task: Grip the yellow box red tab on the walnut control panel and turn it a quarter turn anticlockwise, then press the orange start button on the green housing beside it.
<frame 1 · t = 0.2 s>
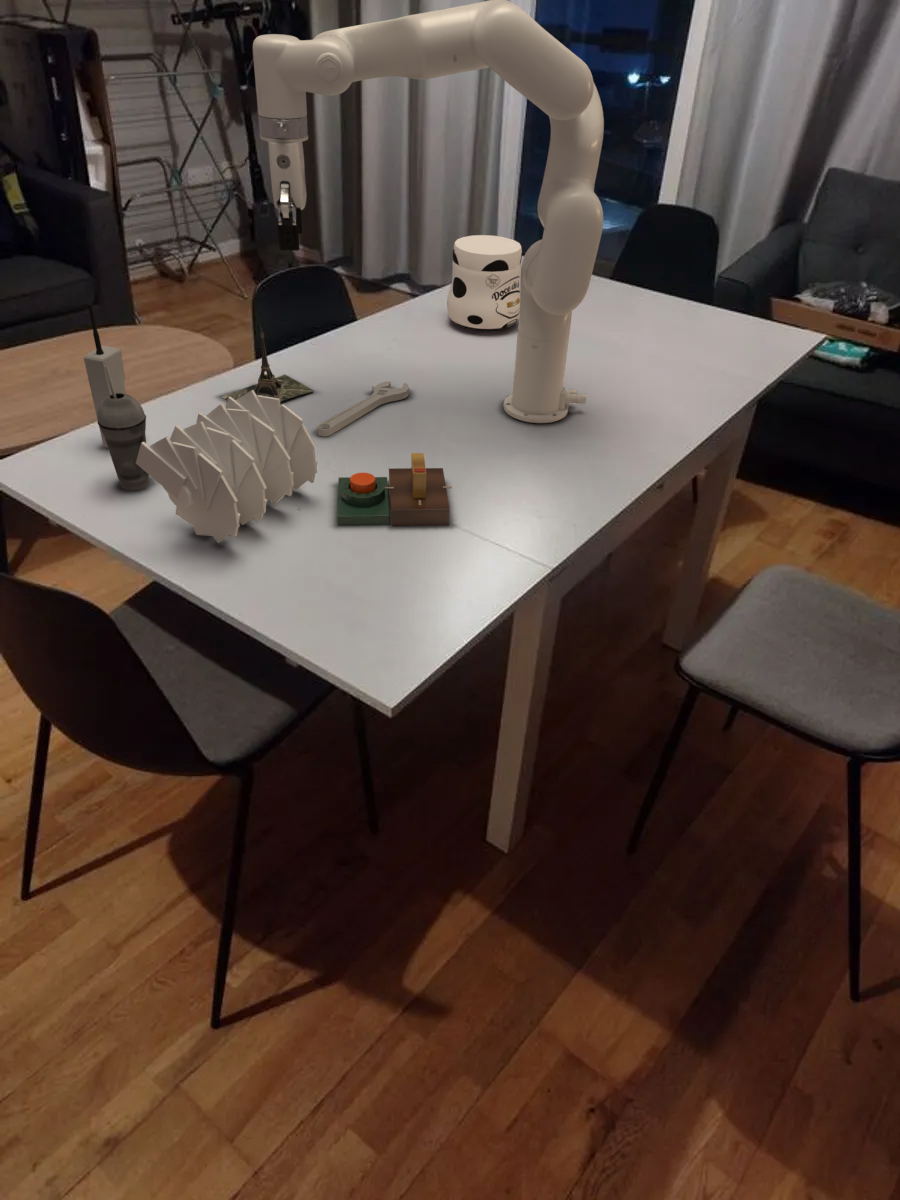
hand: (291, 241, 149), 31 cm above the table, tool pointing down, fingers open, 9 cm apart
start button: (362, 483, 140), point 4 cm above the table, slide at 0.1 cm
control panel: (417, 504, 143), on the table
spiral staircase: (243, 512, 139), on the table
milk container: (482, 324, 208), on the table
yellow box red tab: (418, 474, 139), point 5 cm above the table, hinge at 0.0°
vintage mobile phone: (121, 444, 155), on the table
beverage cup: (135, 484, 145), on the table
eiffel tower figurine: (268, 395, 173), on the table
adjustable wrench: (360, 411, 169), on the table
button housing: (363, 504, 142), on the table
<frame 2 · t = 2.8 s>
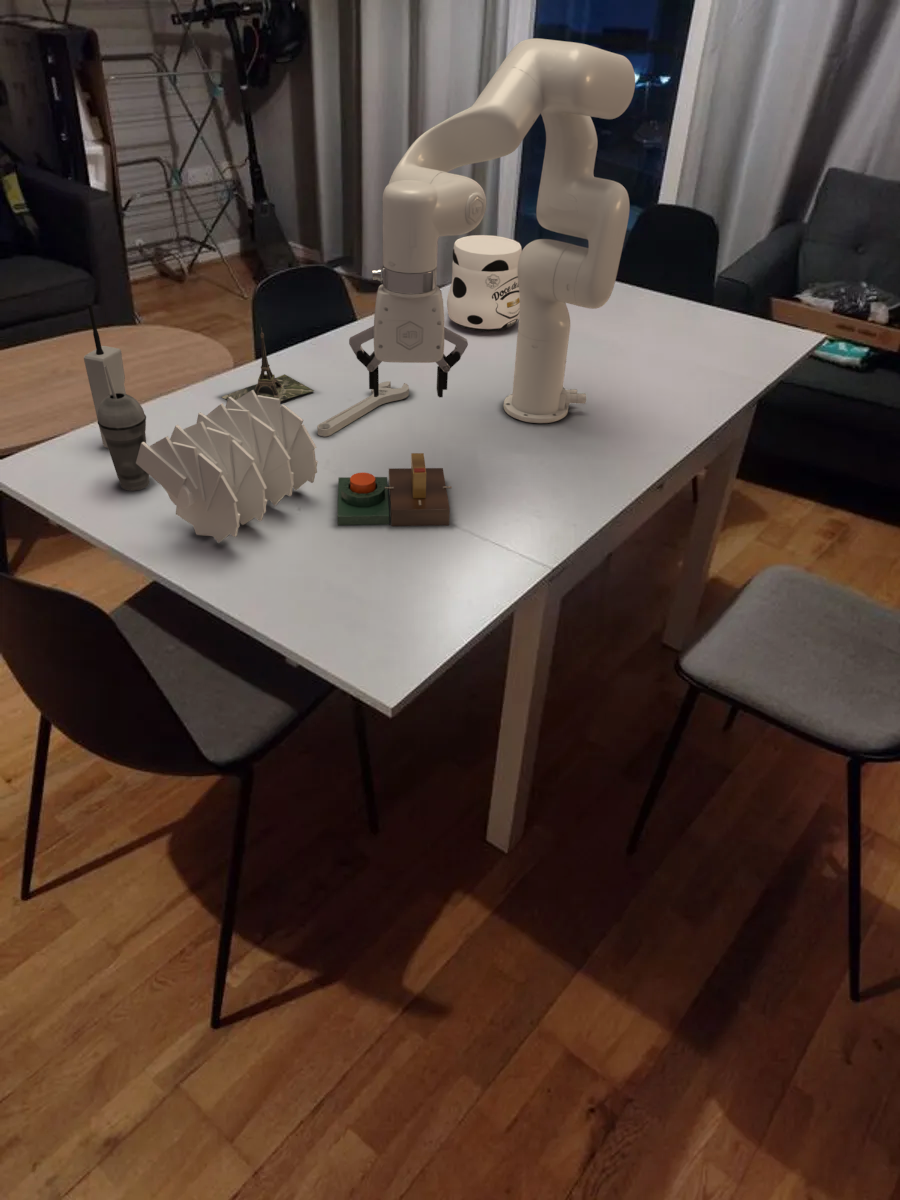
hand: (407, 393, 133), 18 cm above the table, tool pointing down, fingers open, 9 cm apart
nothing on the table moved.
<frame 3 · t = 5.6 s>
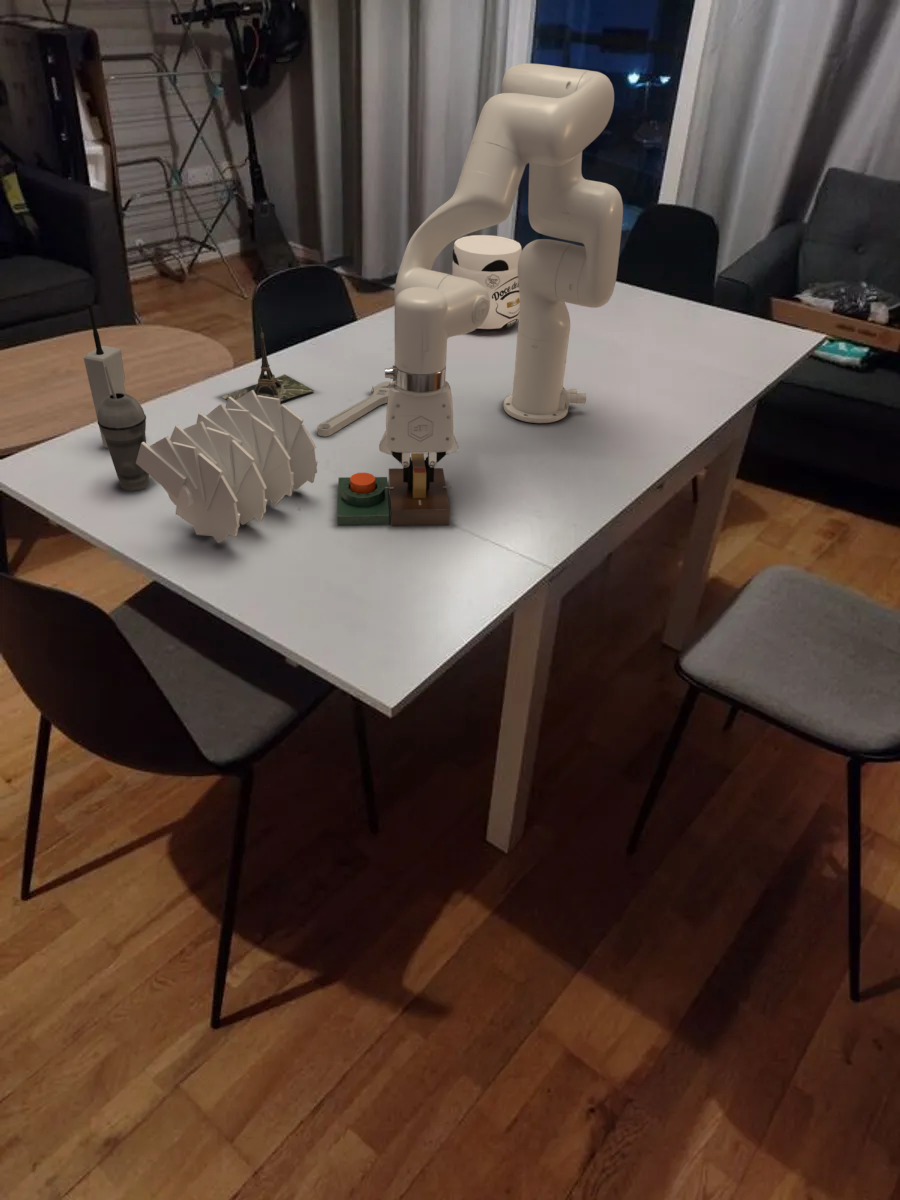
hand: (418, 484, 141), 4 cm above the table, tool pointing down, fingers closed on yellow box red tab, 2 cm apart
yellow box red tab: (418, 474, 139), point 5 cm above the table, hinge at 0.0°, touching gripper
everything else where it was.
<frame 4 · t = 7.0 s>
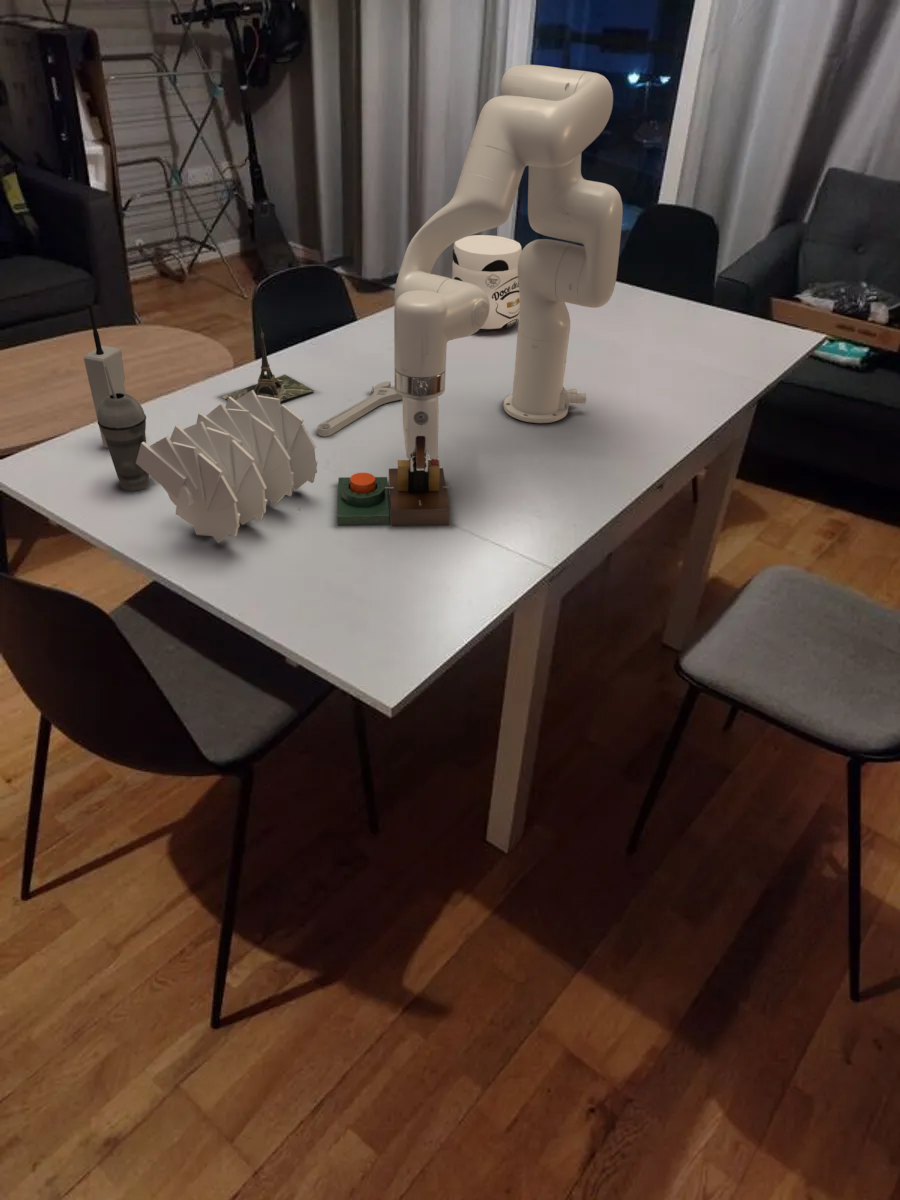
hand: (417, 487, 141), 3 cm above the table, tool pointing down, fingers closed on yellow box red tab, 2 cm apart
yellow box red tab: (418, 474, 139), point 5 cm above the table, hinge at 89.4°, touching gripper
everything else where it was.
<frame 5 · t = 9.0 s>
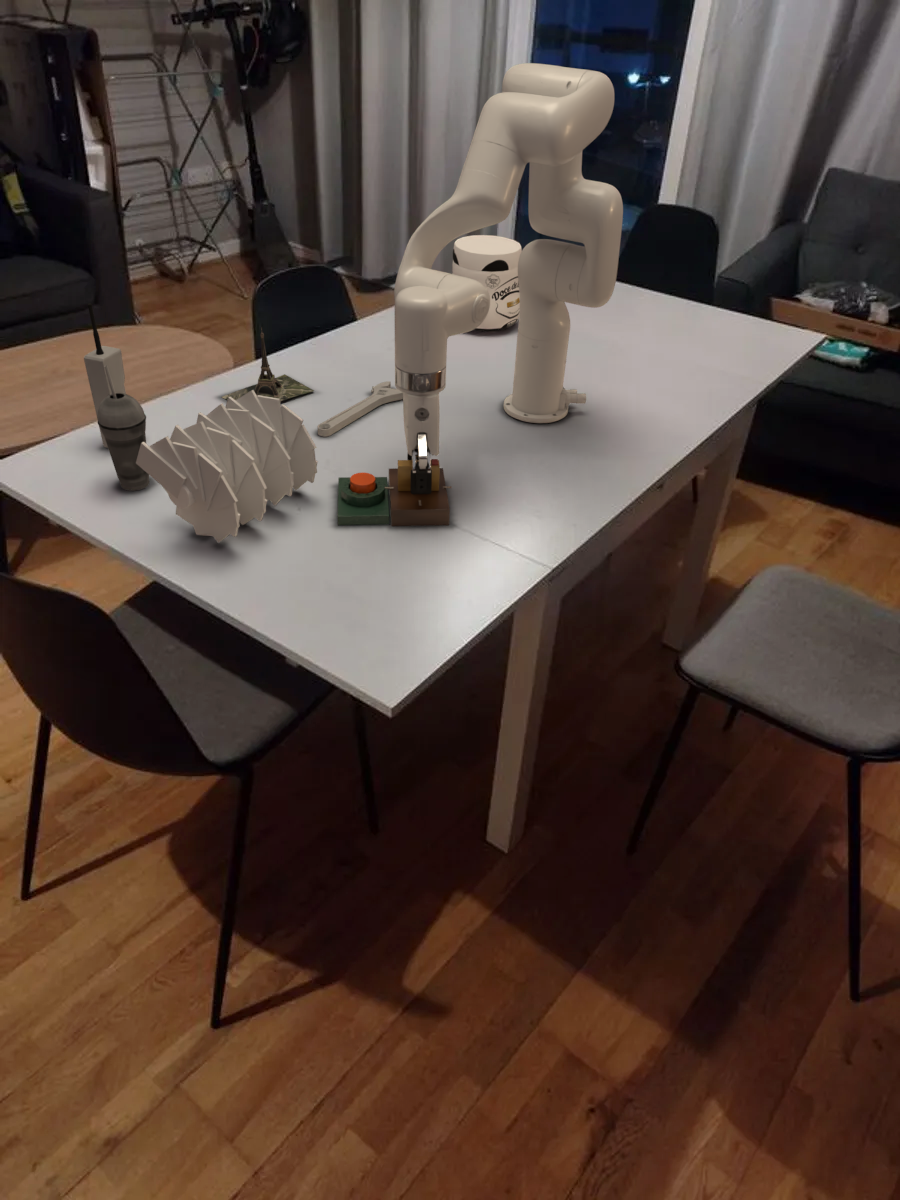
hand: (419, 477, 140), 5 cm above the table, tool pointing down, fingers open, 9 cm apart
yellow box red tab: (418, 474, 139), point 5 cm above the table, hinge at 89.5°
everything else where it was.
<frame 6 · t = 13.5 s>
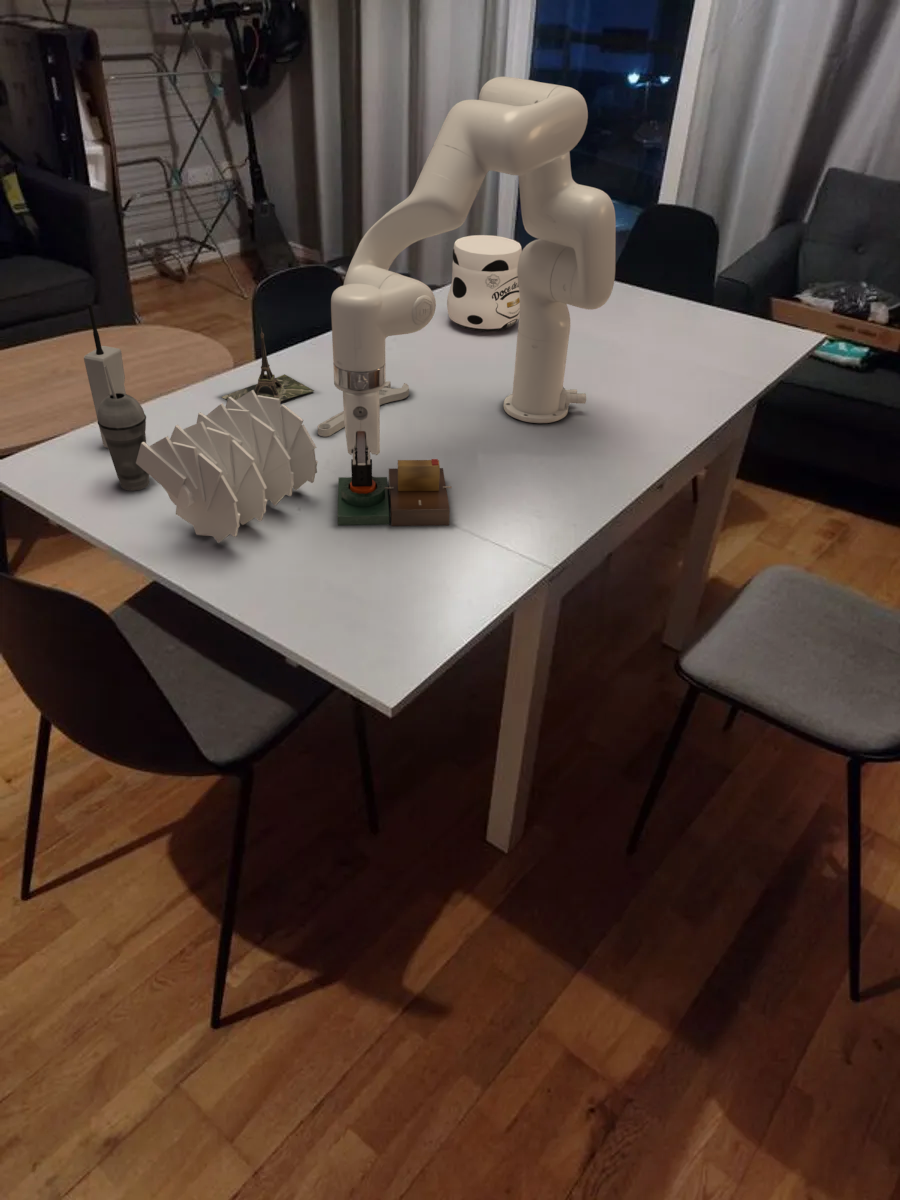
hand: (362, 483, 139), 4 cm above the table, tool pointing down, fingers closed
start button: (362, 488, 140), point 3 cm above the table, slide at -0.8 cm, touching gripper
everything else where it was.
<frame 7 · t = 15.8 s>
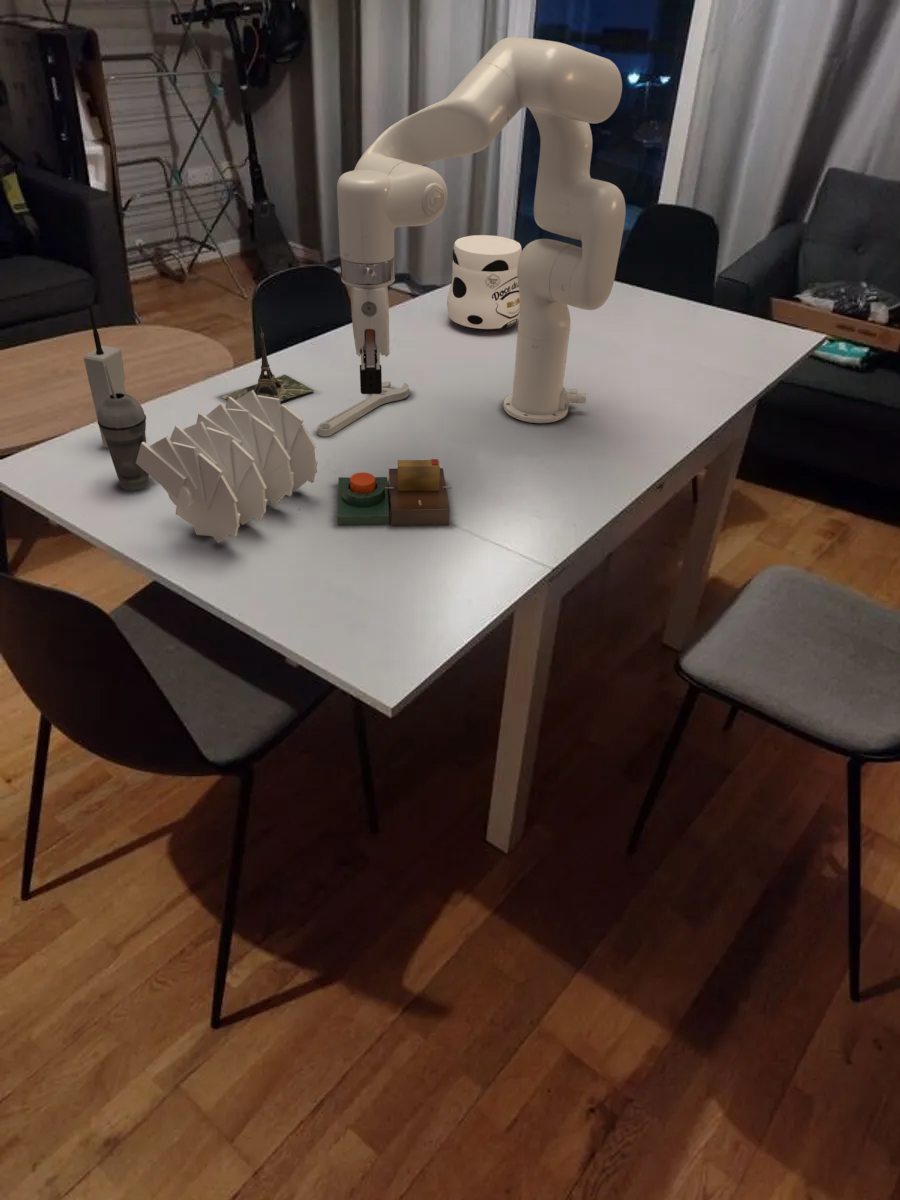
hand: (371, 391, 134), 18 cm above the table, tool pointing down, fingers closed
start button: (362, 483, 140), point 4 cm above the table, slide at 0.1 cm
everything else where it was.
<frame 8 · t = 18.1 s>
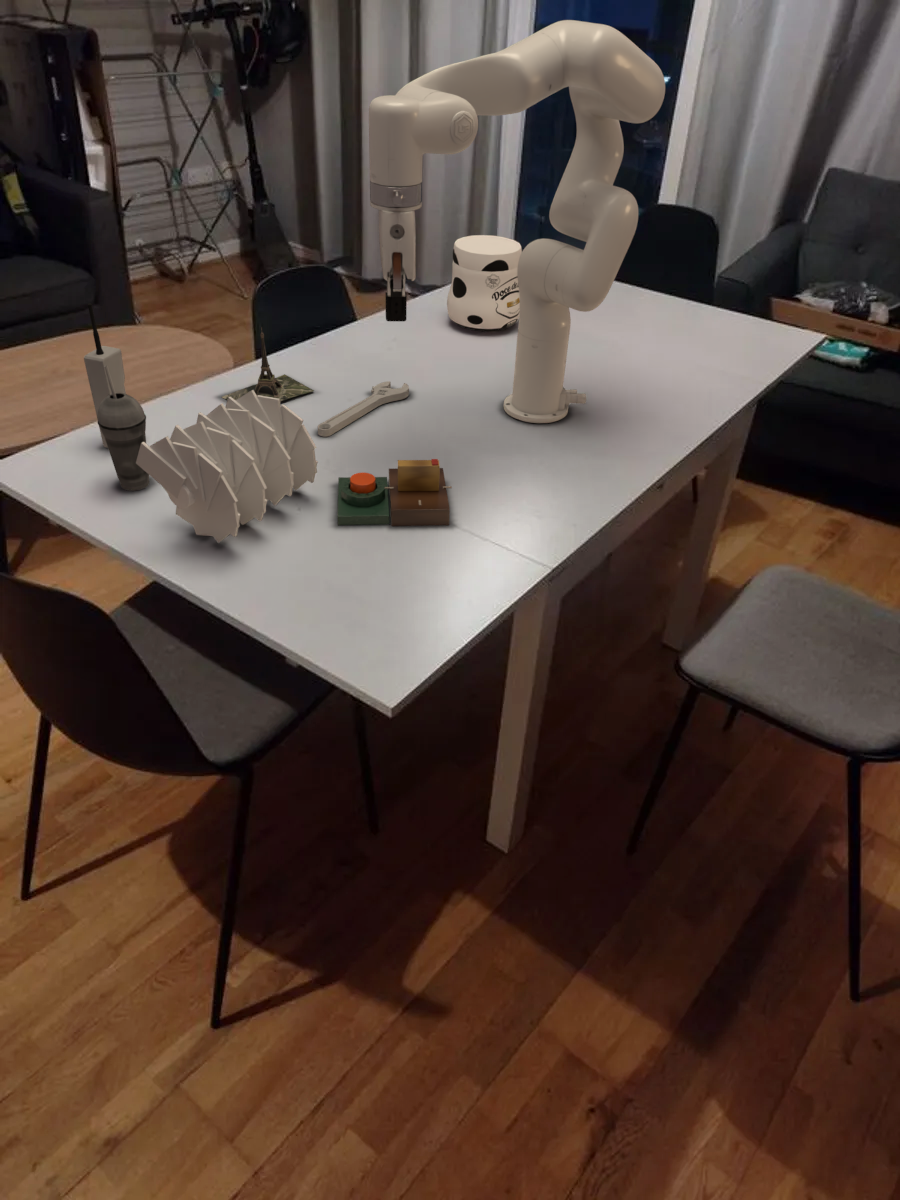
hand: (396, 319, 139), 25 cm above the table, tool pointing down, fingers closed
nothing on the table moved.
at the end: yellow box red tab at +90° (first picture: +0°); start button pushed in 1.1 cm at the most during the clip, back to where it started at the end; start button slide at 0.1 cm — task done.
